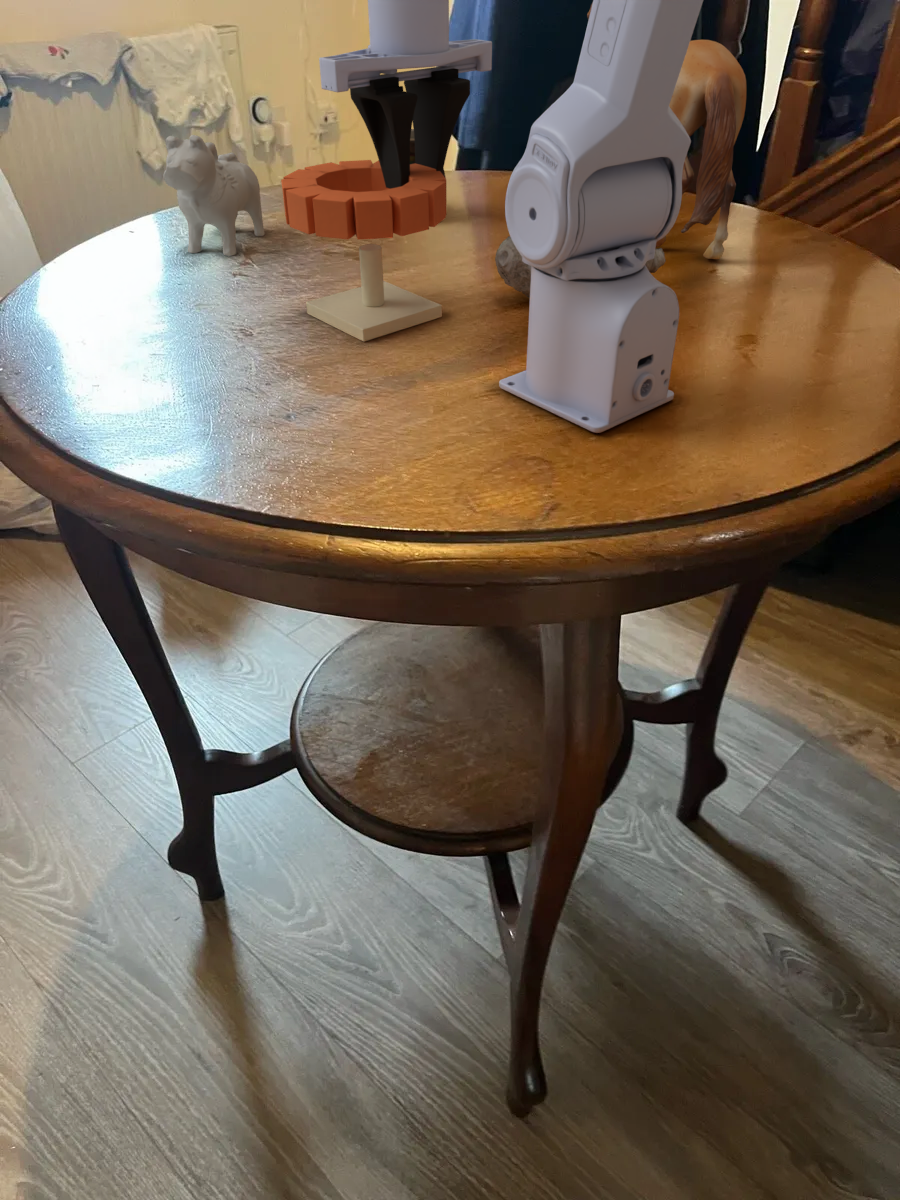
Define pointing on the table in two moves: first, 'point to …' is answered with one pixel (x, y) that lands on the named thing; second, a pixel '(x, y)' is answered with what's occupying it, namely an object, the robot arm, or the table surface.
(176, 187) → the dog figurine
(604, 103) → the robot arm
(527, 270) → the seashell
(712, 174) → the horse figurine
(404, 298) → the stand
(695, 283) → the table surface
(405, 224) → the ring
